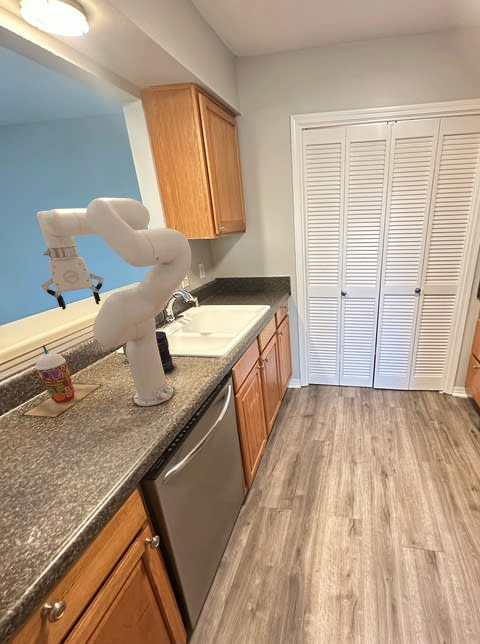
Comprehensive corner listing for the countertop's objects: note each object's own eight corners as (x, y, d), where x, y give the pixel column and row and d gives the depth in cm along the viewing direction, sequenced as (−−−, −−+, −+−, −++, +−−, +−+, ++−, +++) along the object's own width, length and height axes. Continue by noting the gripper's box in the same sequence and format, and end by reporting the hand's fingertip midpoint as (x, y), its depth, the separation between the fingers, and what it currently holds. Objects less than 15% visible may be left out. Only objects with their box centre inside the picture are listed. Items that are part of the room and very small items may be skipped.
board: (72, 384, 122) (72, 383, 122) (100, 385, 120) (100, 385, 120) (23, 415, 104) (23, 414, 104) (55, 417, 102) (55, 416, 102)
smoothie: (48, 408, 107) (24, 353, 99) (52, 396, 114) (30, 344, 106) (77, 400, 110) (56, 347, 102) (79, 390, 117) (60, 339, 109)
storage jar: (177, 364, 134) (169, 330, 128) (169, 375, 125) (160, 339, 119) (153, 365, 134) (144, 331, 128) (143, 376, 125) (133, 341, 119)
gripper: (28, 257, 95) (49, 313, 102) (95, 251, 102) (110, 304, 109) (32, 255, 101) (51, 308, 108) (95, 249, 108) (110, 299, 115)
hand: (81, 306), depth 108 cm, fingers open, 9 cm apart
